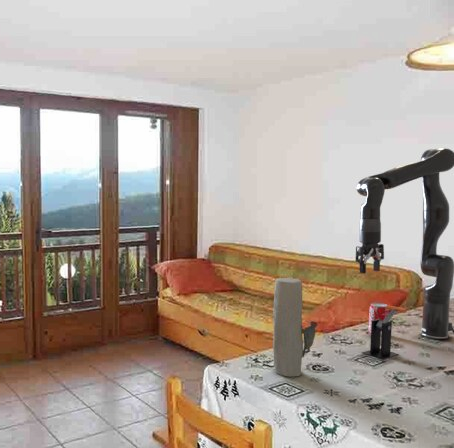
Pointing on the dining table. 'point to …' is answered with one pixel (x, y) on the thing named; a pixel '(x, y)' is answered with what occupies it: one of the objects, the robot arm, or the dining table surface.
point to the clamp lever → (389, 315)
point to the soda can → (377, 313)
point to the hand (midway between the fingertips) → (369, 272)
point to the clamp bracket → (385, 341)
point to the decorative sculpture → (289, 327)
